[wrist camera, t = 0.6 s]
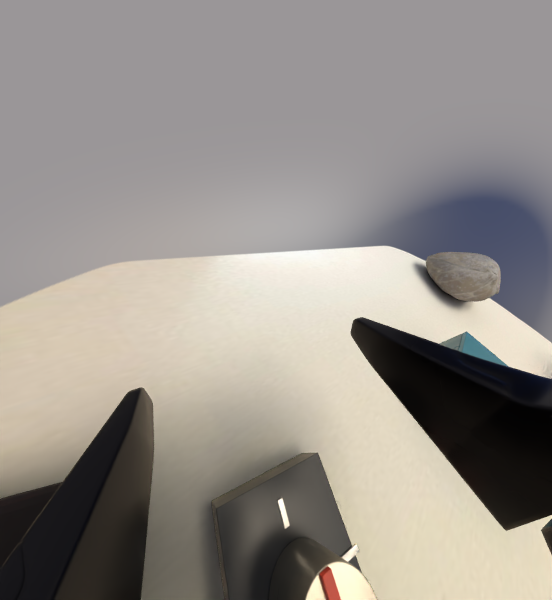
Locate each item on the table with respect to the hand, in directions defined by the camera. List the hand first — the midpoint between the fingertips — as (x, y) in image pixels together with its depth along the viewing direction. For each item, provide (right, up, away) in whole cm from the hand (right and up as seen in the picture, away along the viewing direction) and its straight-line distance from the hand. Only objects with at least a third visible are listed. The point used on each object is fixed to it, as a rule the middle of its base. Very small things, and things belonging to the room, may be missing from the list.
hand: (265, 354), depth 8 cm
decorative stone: (+43, +9, +43) cm, 61 cm away
